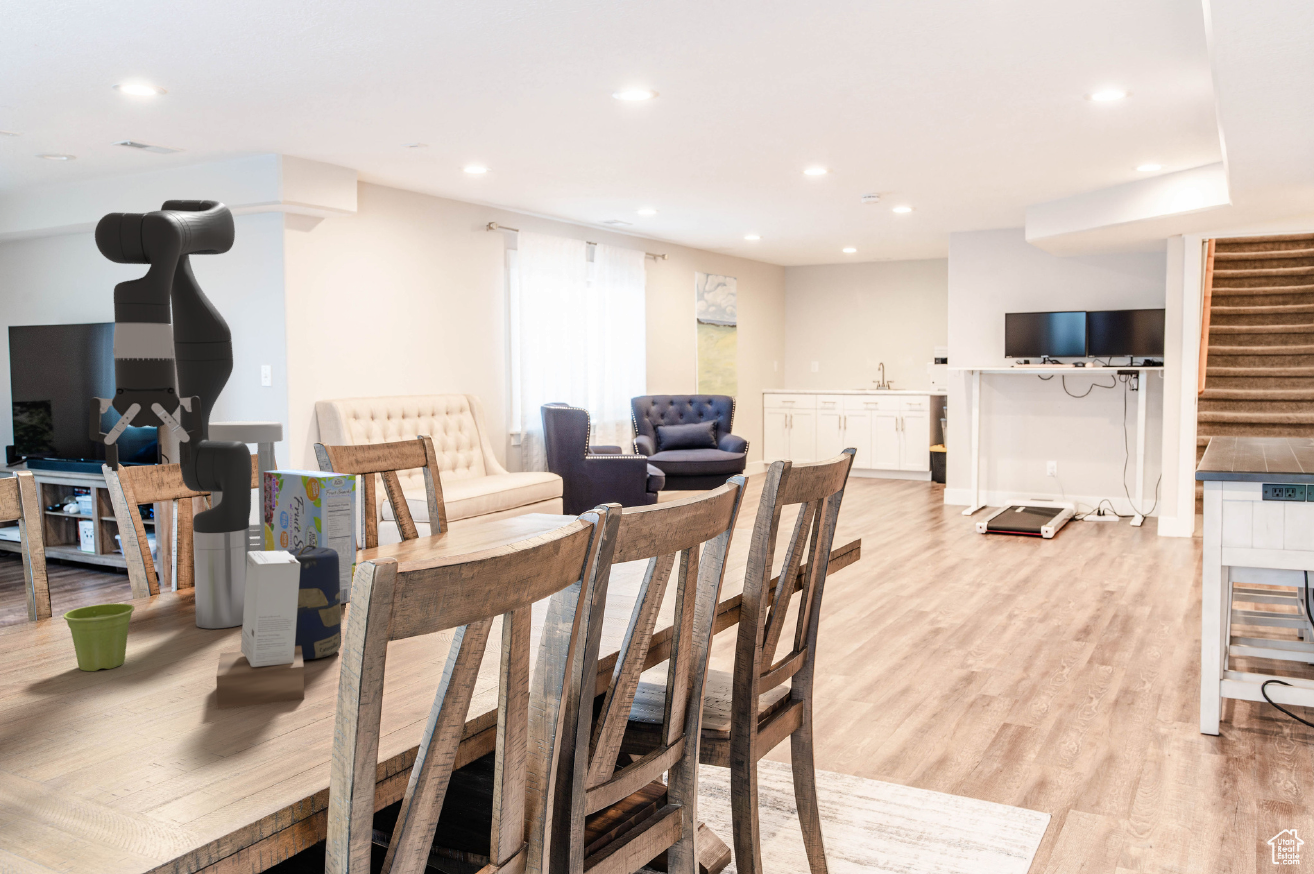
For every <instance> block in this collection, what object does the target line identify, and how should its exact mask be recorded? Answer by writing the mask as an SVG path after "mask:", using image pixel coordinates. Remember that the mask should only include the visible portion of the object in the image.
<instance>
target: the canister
mask: <svg viewBox="0 0 1314 874" xmlns="http://www.w3.org/2000/svg"><path fill="white" fill-rule="evenodd" d="M287 551H288V552H289V553H290V554H291V555H294V556H295V559H296V560H297V561H298V562H300V563H301V564H300V579H299V593H298V607H297V622H296V637H295V646H301V648H302V656H303V661H304V660H313V659H314V660H315V659H321V658H325V657H328V656H331V655H334V654H335V653H337V652H338V651H339V650H340V648H341V645H342V624H341V623H342V607H341V606H342V604H341V600H340V599H341V598H340V572H339V555H338V553H337V552H336V551H335V550H334V549H331V548H324V547H316V546H314V545H306V546H305V547H303V548H297V549H292V550H287Z"/></svg>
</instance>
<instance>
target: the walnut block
mask: <svg viewBox="0 0 1314 874" xmlns="http://www.w3.org/2000/svg"><path fill="white" fill-rule="evenodd" d="M304 669H305V667H304V660H303V656H302V648H301V646H295V651H294V663H289V664H280V665H269V666H259V667H251V665H250V663H249V661H248V659H247V658H246V656H245V655H244V654H243V653H242V652H241V651H235V652H234V651H231V652H225V653H223V652H222V653H220V654H219V661H218V665H217V671H216V702H217V703H216V704H217V705H216V708H217V709H216V710H225V709H235V708H241V707H250V706H251V707H252V706H259V705H260V706H261V705H267V704H274V703H275V704H276V703H283V702H289V701H290V702H291V701H301V700H305V671H304Z"/></svg>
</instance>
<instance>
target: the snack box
mask: <svg viewBox="0 0 1314 874" xmlns="http://www.w3.org/2000/svg"><path fill="white" fill-rule="evenodd" d="M356 480H357V475H356V474H348V473H340V472H333V471H332V472H331V471H330V472H329V471H323V470H308V469H294V468H293V469H277V470H276V469H275V470H274V471H264V512H265V551H287V550H292V549H297V548H303V547H305V546H306V545H314V546H316V547H324V548H331V549H334V550H335V551H336V552H337V553H338V555H339V572H340V598H341V599H340V600H341V605H345V604H349V603H350V595H351V588H352V582H353V576H354V572H355V566H356V567H357V518H356V517H357V515H356V514H357V509H356V508H357V507H356V505H357V504H356V503H357V500H356V499H357V496H356V495H357V491H356V489H357V481H356ZM350 604H351V603H350Z"/></svg>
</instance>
